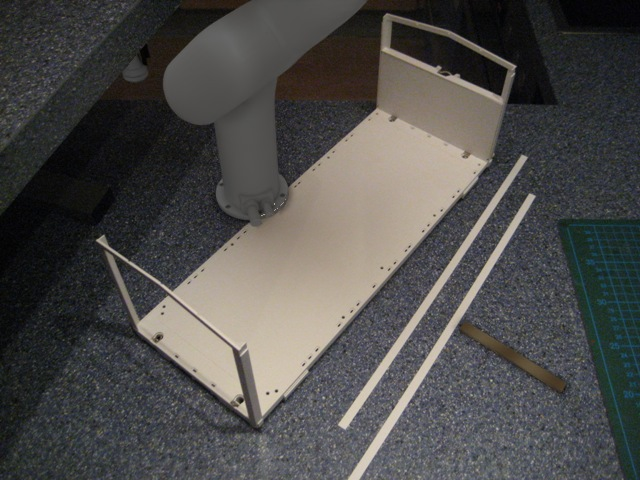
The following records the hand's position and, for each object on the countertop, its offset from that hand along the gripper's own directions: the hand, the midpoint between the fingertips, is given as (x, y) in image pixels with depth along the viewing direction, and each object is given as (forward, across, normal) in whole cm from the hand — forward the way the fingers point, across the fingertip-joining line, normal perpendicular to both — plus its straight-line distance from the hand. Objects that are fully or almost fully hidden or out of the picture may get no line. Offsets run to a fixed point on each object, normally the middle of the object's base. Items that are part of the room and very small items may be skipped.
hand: (132, 62), depth 106 cm
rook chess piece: (+3, 0, 0) cm, 3 cm away
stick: (+17, +43, -63) cm, 78 cm away
